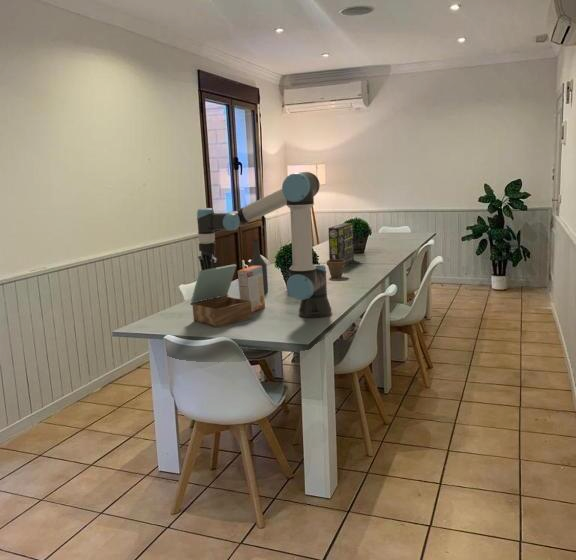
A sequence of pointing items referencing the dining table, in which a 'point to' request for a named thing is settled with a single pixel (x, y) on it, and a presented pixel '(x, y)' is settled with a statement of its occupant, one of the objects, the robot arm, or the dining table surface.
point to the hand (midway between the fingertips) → (209, 292)
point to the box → (341, 242)
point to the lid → (213, 282)
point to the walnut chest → (221, 311)
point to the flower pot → (336, 267)
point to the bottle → (259, 264)
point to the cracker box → (252, 286)
